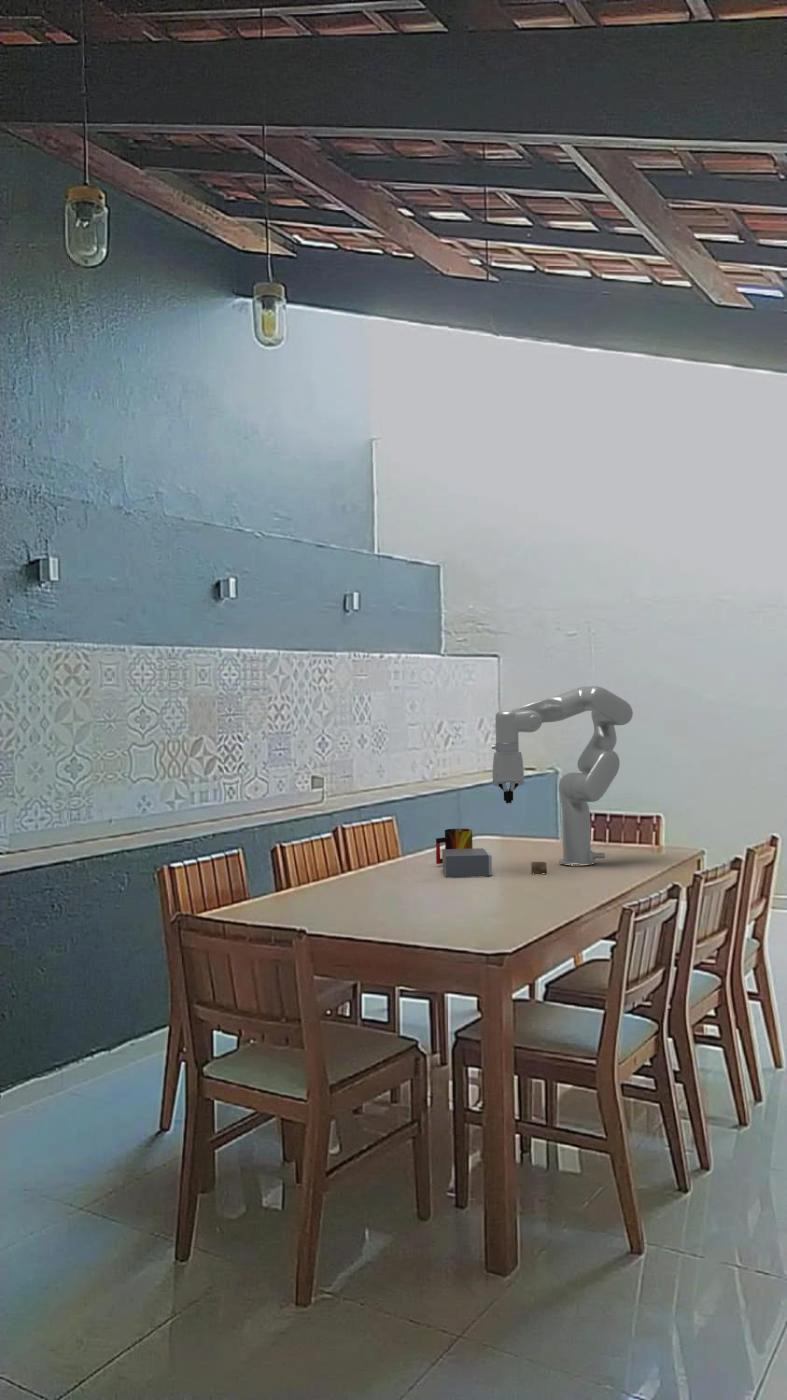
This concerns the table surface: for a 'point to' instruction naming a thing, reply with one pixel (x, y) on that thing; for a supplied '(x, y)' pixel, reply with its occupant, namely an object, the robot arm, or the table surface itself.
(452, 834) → the mug
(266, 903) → the table surface
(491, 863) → the grey drawer
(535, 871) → the brown short rounded cylinder
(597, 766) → the robot arm
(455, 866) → the housing
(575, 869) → the table surface
